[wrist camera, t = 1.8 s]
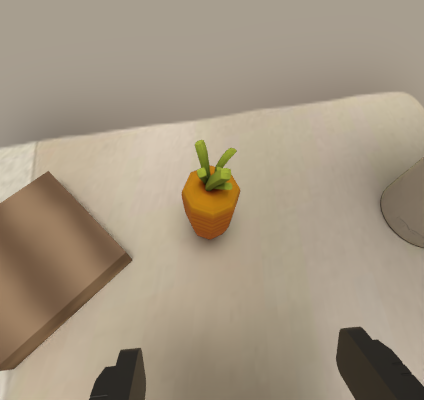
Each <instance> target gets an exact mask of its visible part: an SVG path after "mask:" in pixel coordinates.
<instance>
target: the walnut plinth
mask: <svg viewBox="0 0 424 400" xmlns="http://www.w3.org/2000/svg"><path fill="white" fill-rule="evenodd" d="M131 261H132V259H131V258H130V257H129V255H128V254H127V253H126V252H125V251H124V250H123V249H122V248H121V247H120V246H119V245H118V243H117V242H116V241H115V240H114V239H113V238H112V237H111V236H110V235H109V234H108V233H107V232H106V231H105V230H104V229H103V228H102V227H101V226H100V225H99V224H98V223H97V221H96V220H95V219H94V218H93V217H92V216H91V215H90V214H89V213H88V212H87V211H86V210H85V209H84V208H83V207H82V206H81V205H80V204H79V203H78V202H77V201H76V199H75V198H74V197H73V196H72V195H71V194H70V193H69V192H68V191H67V190H66V189H65V188H64V187H63V186H62V185H61V184H60V183H59V182H58V181H57V180H56V179H55V178H54V176H53V175H52V174H51V173H50V172H49V171H48V172H46V173H45V174H43V175H42V176H40V177H39V178H37V179H36V180H34V181H33V182H31V183H30V184H28V185H27V186H25V187H24V188H22V189H21V190H19V191H18V192H16V193H15V194H13V195H12V196H11V197H9V198H8V199H6V200H5V201H3V202H2V203H0V371H3V370H10V369H14V368H15V367H16V366H17V365H19V364H20V363H21V362H22V361H23V360H24V359H25V358H26V357H27V356H28V355H29V354H31V353H32V352H33V351H34V350H35V349H36V348H37V347H38V346H39V345H40V344H41V343H43V342H44V341H45V340H46V339H47V338H48V337H49V336H50V335H51V334H52V333H53V332H55V331H56V330H57V329H58V328H59V327H60V326H61V325H62V324H63V323H64V322H65V321H67V320H68V319H69V318H70V317H71V316H72V315H73V314H74V313H75V312H76V311H77V310H79V309H80V308H81V307H82V306H83V305H84V304H85V303H86V302H87V301H88V300H89V299H91V298H92V297H93V296H94V295H95V294H96V293H97V292H98V291H99V290H100V289H101V288H103V287H104V286H105V285H106V284H107V283H108V282H109V281H110V280H111V279H112V278H114V277H115V276H116V275H117V274H118V273H119V272H120V271H121V270H122V269H123V268H124V267H126V266H127V265H128V264H129V263H130V262H131Z"/></svg>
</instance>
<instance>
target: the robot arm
mask: <svg viewBox="0 0 424 400" xmlns="http://www.w3.org/2000/svg"><path fill="white" fill-rule="evenodd" d="M381 208H382V212H383V215H384V217H385V219H386V221H387V222H388V224H389V226H390V227H391V228H392V229H393V230H394V231H395V232H396V233H397V234H398V235H399V236H401V237H402V238H403V239H405V240H407V241H408V242H410V243H412V244H415V245H417V246H420V247H424V157H423V158H422V159H421V160H420V161H418V162H417V163H416V164H415V165H414V166H412V167H411V168H410V169H409V170H407V171H406V172H405V173H404V174H403V175H401V176H400V177H399V178H398V179H397V180H395V181H394V182H393V183H392V184H391V185H390V186H388V187H387V188H386V190H385V191H384V192H383V195H382V198H381ZM336 362H337V366H338V370H339V372H340V374H341V376H342V378H343V380H344V381H345V383H346V385H347V386H348V388H349V390H350V391H351V393H352V395H353V396H354V398H355V400H424V386H423V385H422V384H421V383H420V382H419V381H418V380H417V378H416V377H415V376H414V375H412V374H411V372H410V370H409V369H408V368H407V367H406V366H405V365H403V363H402V361H401V360H400V359H399V358H398V357H397V355H396V354H395V353H394V352H393V351H392V350H391V349H390V348H388V347H387V346H386V345H384V344H383V343H381V342H380V341H379V340H372V339H371V338H370V336H369V335H368V334H367V333H366V331H365V330H364V329H363V328H361V327H352V328H342V329H340V332H339V339H338V347H337V355H336ZM145 392H146V377H145V370H144V363H143V356H142V350H141V348H135V349H125V350H121V351H120V353H119V356H118V360H117V363H116V366H111V367H105V369H104V370H103V371H102V373H101V374H100V375H99V377H98V378H97V379H96V381H95V383H94V386H93V389H92V392H91V395H90V399H89V400H145Z"/></svg>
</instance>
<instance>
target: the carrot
mask: <svg viewBox="0 0 424 400" xmlns="http://www.w3.org/2000/svg"><path fill="white" fill-rule="evenodd" d="M195 148H196V151H197V154H198V158H199V161H200V164H201V168H200V169H198V170H196V171H194V172H191V173H190V175H189V177H188V180H187V182H186V184H185V186H184V188H183V191H182V199H183V204H184V208H185V212H186V215H187V217H188V219H189V221H190V223H191V225H192V227H193V229H194V231H195V233H196V234H197V235H198V236H201V237H204V238H207V239H209V240H210V239H213V238H215V237H217V236H219V235H221V234H223V233H224V232H225V231H226V229H227V228H228V226H229V224H230V221H231V218H232V215H233V213H234V210H235V207H236V204H237V201H238V197H239V194H240V188H239V186H238V185H237V183H236V181H235V180H234V178H233V176H232V175H231V170H230V169H228V168H223V167H224V165H225V164H226V163H227V161H228V160H229V159H230V158H231V157H232V156H233V155H234V154H235V153H236V150H235V149H234V148H229V149H228V150H227V151H226V152H225V153H224V154H223V155H222V157H221V158H220V160H219V161H218V163H217V165H216V167H214V166H210V165H209V160H208V153H207V149H206V145H205V142H204V140H199V141H197V142H196V144H195Z"/></svg>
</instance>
